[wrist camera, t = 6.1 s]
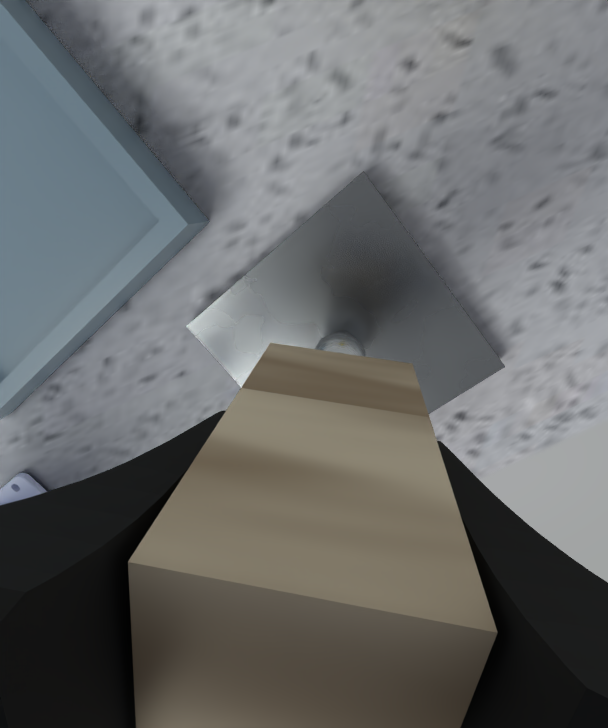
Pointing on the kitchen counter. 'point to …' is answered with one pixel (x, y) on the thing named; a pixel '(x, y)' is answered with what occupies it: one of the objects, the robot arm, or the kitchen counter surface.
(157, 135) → the kitchen counter surface
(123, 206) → the bin
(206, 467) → the strut
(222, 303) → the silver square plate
